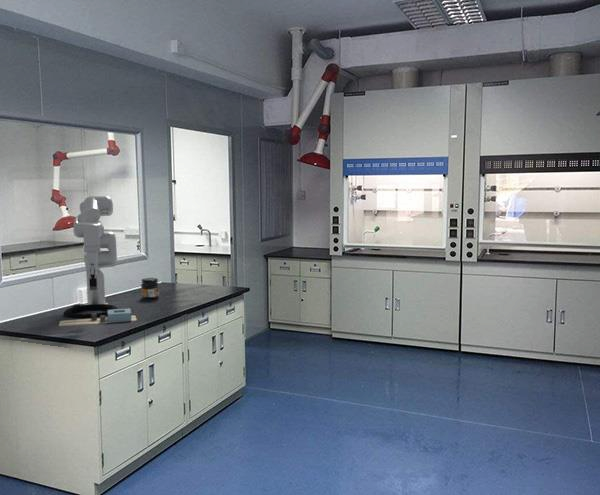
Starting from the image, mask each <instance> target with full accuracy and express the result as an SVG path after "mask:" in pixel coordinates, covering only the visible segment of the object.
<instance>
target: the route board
mask: <svg viewBox="0 0 600 495" xmlns="http://www.w3.org/2000/svg"><path fill="white" fill-rule="evenodd" d="M97 313H98V312H94V314H93V313H91V314H92V318H84V319H79V318H77V319H67V320H66V319H65V320H60V321H59V325H58V327H69V326H71V327H72V326H81V325H82V326H83V325H97V324H109V323H113V322H108V316H105V315H102V316H100V317H98V318H97ZM131 320H132V321H131V322H137V317H136V315H131ZM121 322H123V323H124V322H126V321H121ZM121 322H120V323H121Z"/></svg>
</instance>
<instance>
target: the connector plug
mask: <svg viewBox="0 0 600 495" xmlns="http://www.w3.org/2000/svg"><path fill="white" fill-rule="evenodd" d="M94 274H95V273H94ZM96 278H97V273H96ZM89 286H90V274H89ZM90 290H97V286H96V287H90Z"/></svg>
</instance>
